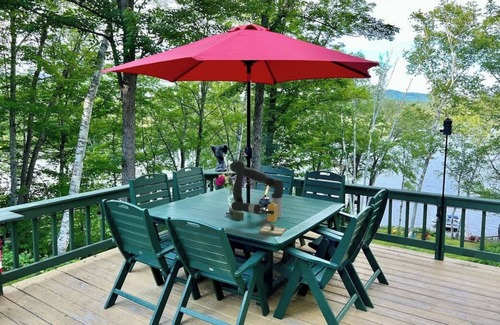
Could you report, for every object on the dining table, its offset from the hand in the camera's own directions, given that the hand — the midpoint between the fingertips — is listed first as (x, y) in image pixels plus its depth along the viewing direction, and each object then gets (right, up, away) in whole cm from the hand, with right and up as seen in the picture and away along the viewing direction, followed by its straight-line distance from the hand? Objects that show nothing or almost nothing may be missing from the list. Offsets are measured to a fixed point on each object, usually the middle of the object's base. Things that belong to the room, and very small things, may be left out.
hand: (275, 211), depth 245 cm
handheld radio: (-33, -11, +44) cm, 56 cm away
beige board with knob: (-2, -15, +3) cm, 16 cm away
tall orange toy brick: (-2, -7, +2) cm, 7 cm away
